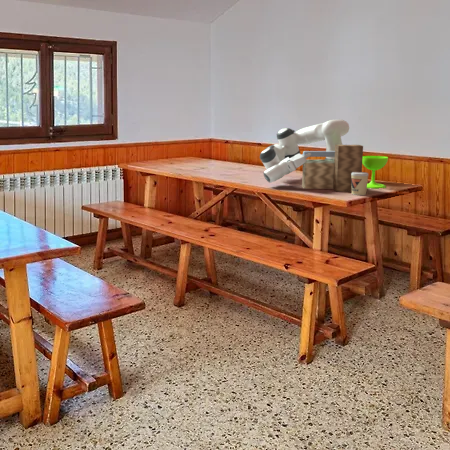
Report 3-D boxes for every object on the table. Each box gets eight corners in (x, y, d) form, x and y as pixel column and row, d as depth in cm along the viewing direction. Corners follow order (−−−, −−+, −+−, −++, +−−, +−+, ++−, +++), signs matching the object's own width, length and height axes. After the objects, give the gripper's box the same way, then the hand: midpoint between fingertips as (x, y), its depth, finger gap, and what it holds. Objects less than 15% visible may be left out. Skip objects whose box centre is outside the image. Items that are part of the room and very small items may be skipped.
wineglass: (355, 187, 362) (357, 157, 358) (364, 184, 376) (365, 155, 372) (381, 189, 354) (383, 158, 350) (389, 186, 368) (391, 156, 364)
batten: (303, 156, 354) (304, 151, 354) (303, 156, 357) (303, 151, 357) (335, 156, 355) (336, 151, 354) (334, 156, 358) (335, 151, 357)
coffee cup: (346, 193, 337) (347, 172, 335) (359, 192, 342) (360, 171, 340) (358, 196, 329) (359, 174, 327) (370, 194, 334) (372, 173, 332)
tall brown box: (336, 191, 345) (338, 145, 340) (333, 189, 354) (335, 144, 349) (360, 191, 346) (363, 145, 341) (356, 189, 355) (359, 144, 349)
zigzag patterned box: (304, 188, 355) (305, 161, 352) (302, 186, 365) (302, 159, 362) (345, 188, 356) (346, 161, 353) (341, 186, 366) (342, 159, 362)
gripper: (289, 167, 368) (309, 156, 366) (294, 171, 348) (315, 159, 346) (284, 158, 366) (304, 147, 365) (289, 161, 346) (310, 149, 345)
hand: (309, 153), depth 356 cm, fingers closed on batten, 3 cm apart
